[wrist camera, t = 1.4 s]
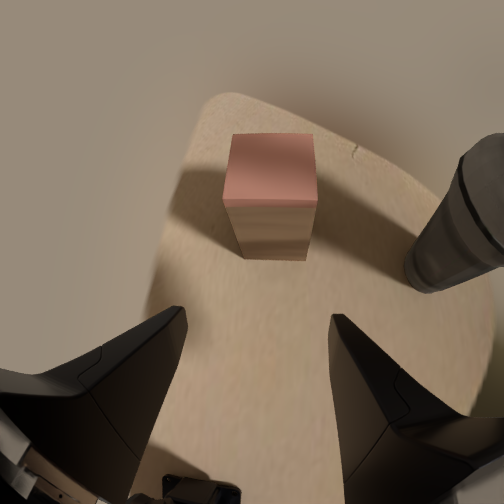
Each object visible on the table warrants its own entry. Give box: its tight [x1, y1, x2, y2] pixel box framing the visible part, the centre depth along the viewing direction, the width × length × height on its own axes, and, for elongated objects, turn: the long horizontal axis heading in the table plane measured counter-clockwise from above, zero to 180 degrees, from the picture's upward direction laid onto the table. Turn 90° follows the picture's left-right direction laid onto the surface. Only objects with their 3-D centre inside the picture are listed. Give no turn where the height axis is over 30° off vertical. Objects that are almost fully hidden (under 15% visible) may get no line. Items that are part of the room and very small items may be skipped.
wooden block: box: [222, 133, 318, 261], centre depth 19 cm, size 5×5×9 cm
